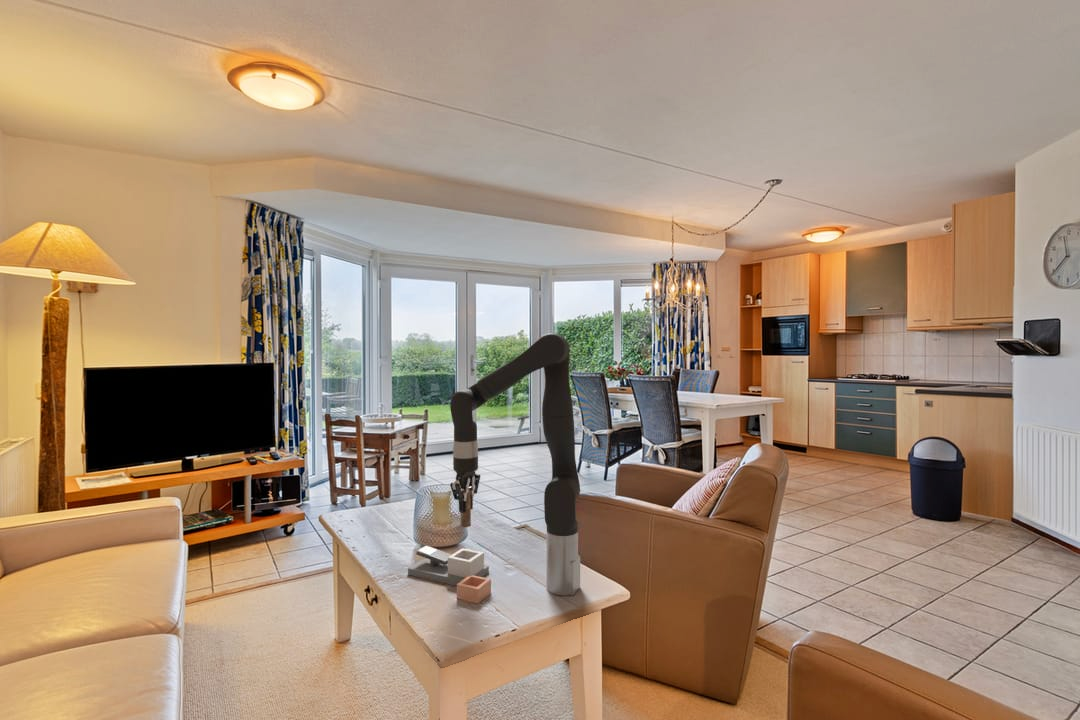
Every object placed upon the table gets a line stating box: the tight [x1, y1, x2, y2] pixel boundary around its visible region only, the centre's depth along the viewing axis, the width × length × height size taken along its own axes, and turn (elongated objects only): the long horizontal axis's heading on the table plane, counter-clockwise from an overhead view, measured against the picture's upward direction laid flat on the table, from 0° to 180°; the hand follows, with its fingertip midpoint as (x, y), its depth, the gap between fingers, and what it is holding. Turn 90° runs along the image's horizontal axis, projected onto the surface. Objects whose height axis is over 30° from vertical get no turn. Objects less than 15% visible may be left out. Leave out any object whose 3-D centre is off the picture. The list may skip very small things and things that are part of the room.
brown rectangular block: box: [460, 489, 472, 528], centre depth 161 cm, size 3×3×11 cm
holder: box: [456, 575, 492, 604], centre depth 150 cm, size 7×7×4 cm
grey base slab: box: [407, 548, 490, 587], centre depth 164 cm, size 22×12×7 cm, turn 65°
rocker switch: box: [416, 545, 452, 565], centre depth 166 cm, size 11×5×1 cm, turn 65°
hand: (466, 510), depth 161 cm, fingers closed on brown rectangular block, 3 cm apart
